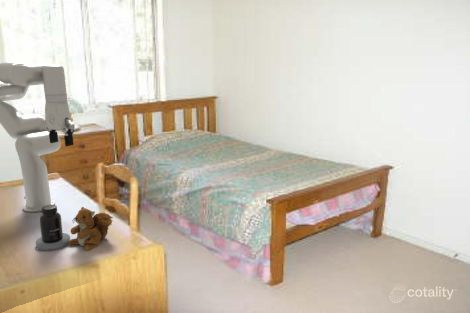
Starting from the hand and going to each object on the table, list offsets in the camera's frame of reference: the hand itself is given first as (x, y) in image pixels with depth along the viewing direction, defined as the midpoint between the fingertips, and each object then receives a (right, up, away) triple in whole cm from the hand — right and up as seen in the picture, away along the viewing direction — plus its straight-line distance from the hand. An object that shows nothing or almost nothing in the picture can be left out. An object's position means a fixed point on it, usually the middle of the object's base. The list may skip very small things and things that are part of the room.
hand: (61, 144), depth 163 cm
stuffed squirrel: (+16, -35, -13) cm, 41 cm away
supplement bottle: (+3, -34, -14) cm, 37 cm away
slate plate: (+3, -35, -14) cm, 38 cm away
